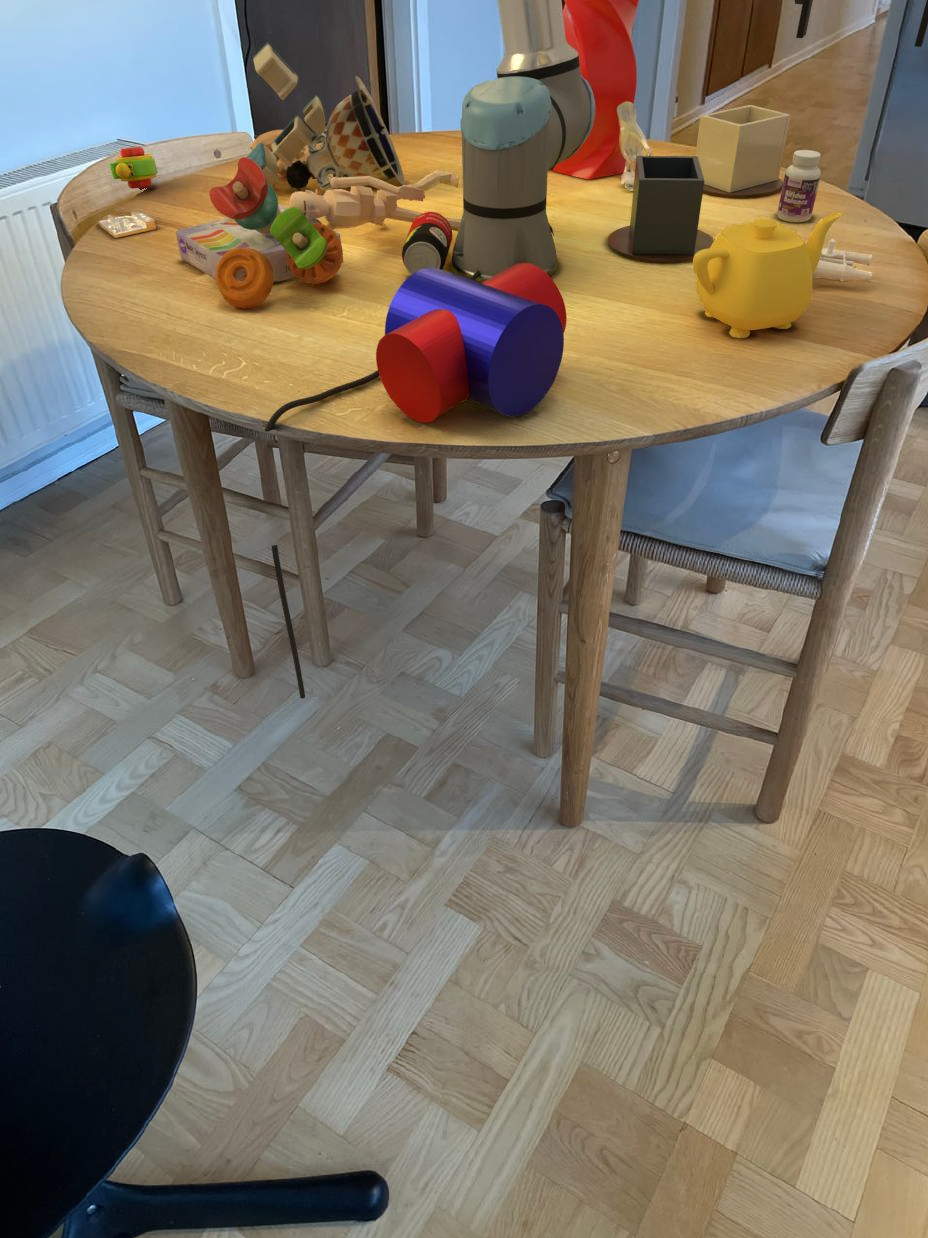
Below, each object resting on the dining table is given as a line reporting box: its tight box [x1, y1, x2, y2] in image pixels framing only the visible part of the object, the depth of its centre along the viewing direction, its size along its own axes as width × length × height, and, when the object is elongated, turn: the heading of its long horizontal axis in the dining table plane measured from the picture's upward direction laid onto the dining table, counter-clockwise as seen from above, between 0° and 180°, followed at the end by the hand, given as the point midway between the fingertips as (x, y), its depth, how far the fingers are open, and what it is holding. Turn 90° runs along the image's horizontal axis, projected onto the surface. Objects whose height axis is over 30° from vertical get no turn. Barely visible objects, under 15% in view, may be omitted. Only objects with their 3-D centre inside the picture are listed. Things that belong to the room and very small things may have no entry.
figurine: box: [285, 75, 406, 192], centre depth 163 cm, size 18×18×20 cm
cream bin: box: [694, 104, 791, 193], centre depth 162 cm, size 14×9×10 cm, turn 124°
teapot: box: [692, 211, 843, 339], centre depth 117 cm, size 13×20×12 cm
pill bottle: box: [776, 149, 822, 223], centre depth 148 cm, size 5×5×10 cm
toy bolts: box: [208, 156, 344, 310], centre depth 131 cm, size 18×17×12 cm
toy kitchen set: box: [246, 42, 326, 187], centre depth 160 cm, size 18×14×11 cm
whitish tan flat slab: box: [97, 210, 157, 239], centre depth 153 cm, size 8×7×2 cm
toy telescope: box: [812, 238, 874, 283], centre depth 130 cm, size 8×14×5 cm, turn 73°
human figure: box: [288, 169, 462, 232], centre depth 143 cm, size 20×10×30 cm
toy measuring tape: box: [109, 146, 158, 189], centre depth 170 cm, size 6×19×7 cm
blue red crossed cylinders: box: [375, 263, 567, 423], centre depth 104 cm, size 20×12×16 cm
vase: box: [551, 0, 640, 180], centre depth 165 cm, size 15×14×28 cm
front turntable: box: [607, 225, 715, 265], centre depth 143 cm, size 16×16×1 cm
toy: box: [249, 129, 315, 179], centre depth 177 cm, size 5×12×20 cm
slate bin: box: [629, 155, 704, 255], centre depth 140 cm, size 14×9×10 cm, turn 174°
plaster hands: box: [617, 101, 653, 192], centre depth 165 cm, size 15×6×7 cm
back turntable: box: [703, 177, 783, 199], centre depth 165 cm, size 16×16×1 cm
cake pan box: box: [175, 204, 344, 283], centre depth 139 cm, size 19×5×18 cm
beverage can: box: [401, 211, 453, 276], centre depth 135 cm, size 6×6×12 cm
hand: (858, 40), depth 113 cm, fingers open, 13 cm apart
